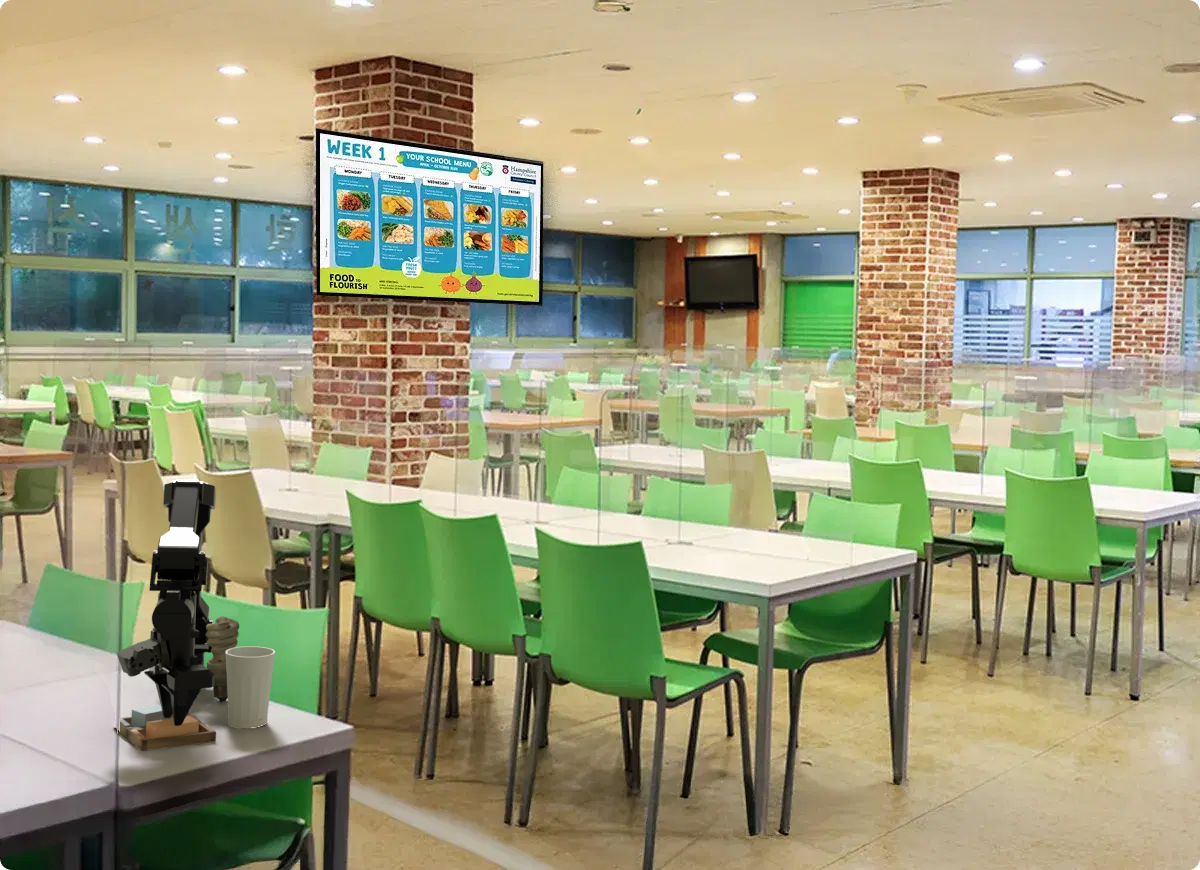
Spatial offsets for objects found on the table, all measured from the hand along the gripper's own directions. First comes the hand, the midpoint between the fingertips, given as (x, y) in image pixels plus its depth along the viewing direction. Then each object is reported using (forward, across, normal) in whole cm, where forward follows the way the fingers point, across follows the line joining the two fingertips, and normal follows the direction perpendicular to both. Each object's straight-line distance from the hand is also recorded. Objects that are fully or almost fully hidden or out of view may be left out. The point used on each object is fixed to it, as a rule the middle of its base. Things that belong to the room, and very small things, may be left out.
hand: (172, 721), depth 211 cm
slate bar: (+3, -7, 0) cm, 8 cm away
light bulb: (+3, -19, +15) cm, 24 cm away
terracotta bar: (+4, 0, 0) cm, 4 cm away
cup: (+3, -4, +14) cm, 15 cm away
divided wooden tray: (+3, -4, 0) cm, 5 cm away
